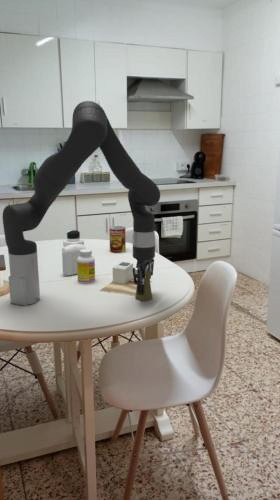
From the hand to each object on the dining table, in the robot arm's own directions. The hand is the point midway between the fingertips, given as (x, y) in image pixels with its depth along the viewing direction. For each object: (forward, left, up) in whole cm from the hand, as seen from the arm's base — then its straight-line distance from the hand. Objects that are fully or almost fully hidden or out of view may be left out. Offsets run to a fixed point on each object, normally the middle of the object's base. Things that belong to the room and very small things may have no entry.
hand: (143, 291), depth 140 cm
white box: (+14, +14, -2) cm, 20 cm away
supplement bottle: (+8, +27, -3) cm, 28 cm away
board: (+9, +11, -3) cm, 14 cm away
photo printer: (+16, +37, -3) cm, 40 cm away
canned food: (+55, +36, -3) cm, 66 cm away
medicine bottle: (+40, +52, -3) cm, 66 cm away
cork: (0, 0, -3) cm, 3 cm away
